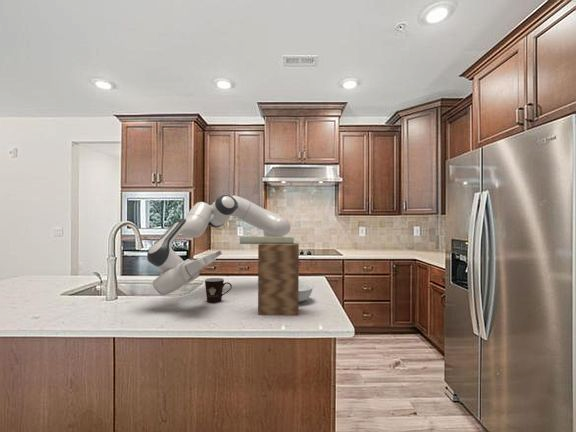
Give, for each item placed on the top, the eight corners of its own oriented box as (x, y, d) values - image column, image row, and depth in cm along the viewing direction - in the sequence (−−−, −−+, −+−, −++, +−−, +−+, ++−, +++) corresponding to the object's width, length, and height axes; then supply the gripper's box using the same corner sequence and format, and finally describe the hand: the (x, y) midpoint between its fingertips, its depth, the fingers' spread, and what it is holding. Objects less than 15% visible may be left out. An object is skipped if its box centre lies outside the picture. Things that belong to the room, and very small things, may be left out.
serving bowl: (309, 308, 152) (309, 292, 152) (262, 305, 156) (262, 289, 156) (315, 297, 173) (315, 283, 173) (273, 294, 177) (273, 281, 177)
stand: (258, 314, 142) (258, 244, 141) (261, 308, 152) (261, 242, 151) (298, 315, 141) (298, 245, 141) (298, 308, 151) (298, 243, 151)
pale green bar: (239, 243, 145) (239, 237, 145) (241, 243, 149) (241, 236, 149) (293, 244, 144) (293, 237, 144) (293, 243, 148) (293, 236, 148)
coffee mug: (200, 302, 161) (200, 280, 161) (212, 298, 169) (213, 277, 169) (220, 305, 156) (221, 282, 156) (232, 301, 163) (232, 279, 163)
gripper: (200, 272, 158) (227, 256, 157) (185, 281, 137) (216, 263, 137) (193, 260, 158) (220, 244, 157) (177, 266, 137) (208, 249, 137)
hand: (218, 253), depth 147 cm, fingers open, 8 cm apart
